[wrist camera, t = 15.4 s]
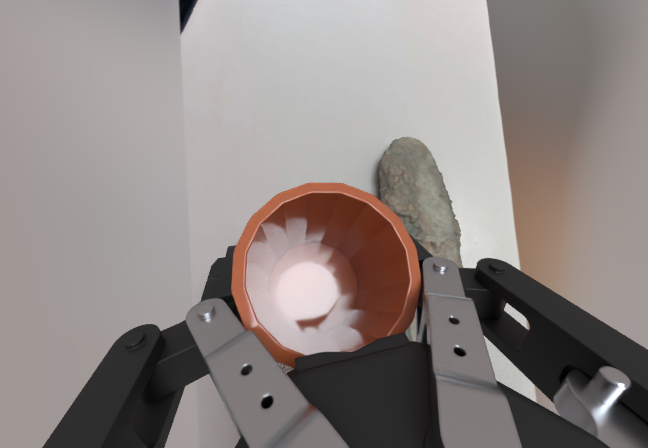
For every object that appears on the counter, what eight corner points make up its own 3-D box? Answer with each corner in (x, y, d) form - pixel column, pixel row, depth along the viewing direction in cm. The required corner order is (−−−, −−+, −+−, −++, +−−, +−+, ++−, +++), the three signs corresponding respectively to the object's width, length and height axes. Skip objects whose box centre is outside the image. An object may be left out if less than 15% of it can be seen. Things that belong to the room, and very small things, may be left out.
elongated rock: (392, 433, 27) (474, 421, 28) (418, 467, 22) (516, 449, 23) (365, 143, 36) (428, 147, 37) (379, 119, 31) (452, 125, 32)
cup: (286, 359, 15) (275, 419, 7) (248, 261, 17) (205, 219, 9) (377, 311, 17) (455, 315, 9) (335, 225, 18) (367, 160, 10)
